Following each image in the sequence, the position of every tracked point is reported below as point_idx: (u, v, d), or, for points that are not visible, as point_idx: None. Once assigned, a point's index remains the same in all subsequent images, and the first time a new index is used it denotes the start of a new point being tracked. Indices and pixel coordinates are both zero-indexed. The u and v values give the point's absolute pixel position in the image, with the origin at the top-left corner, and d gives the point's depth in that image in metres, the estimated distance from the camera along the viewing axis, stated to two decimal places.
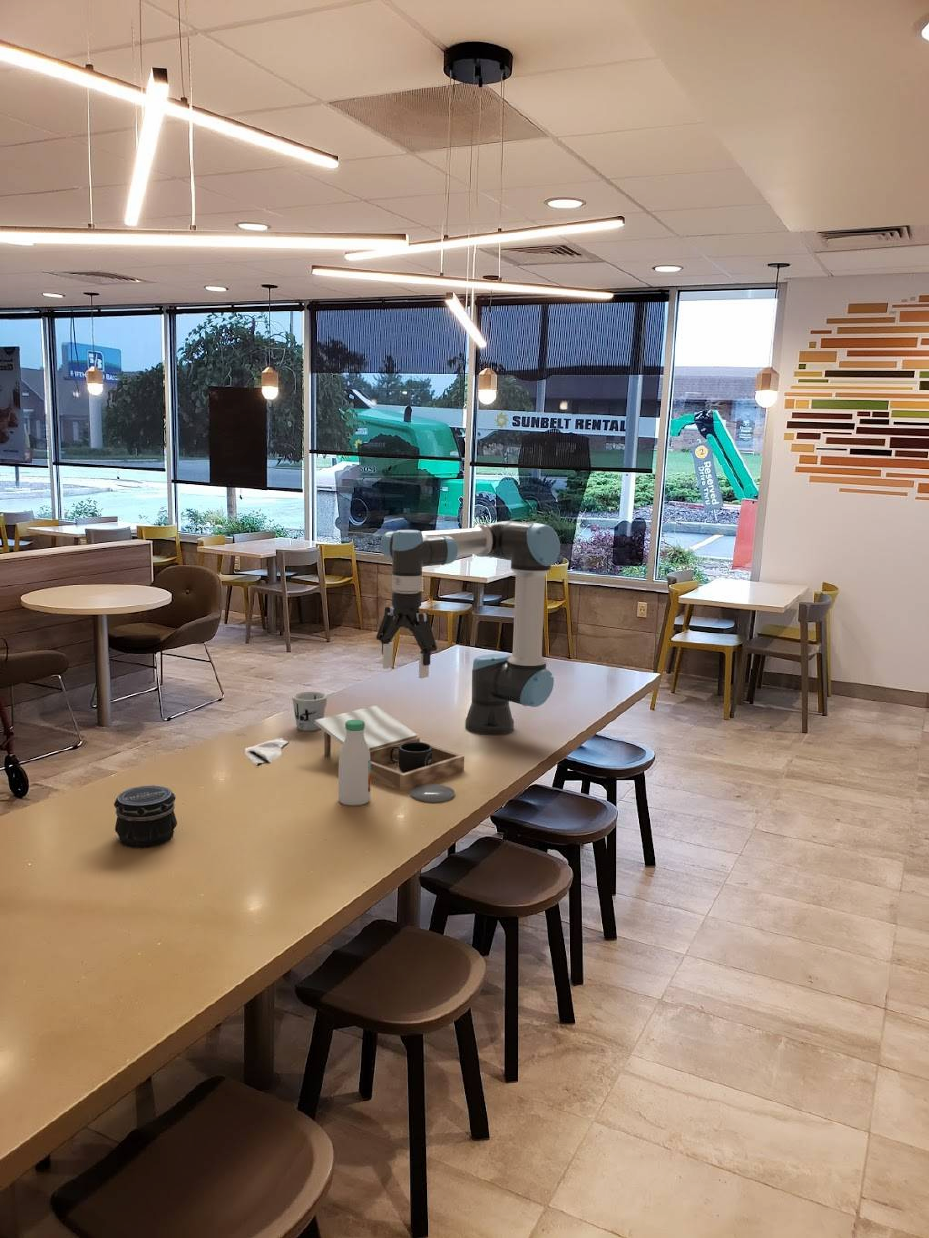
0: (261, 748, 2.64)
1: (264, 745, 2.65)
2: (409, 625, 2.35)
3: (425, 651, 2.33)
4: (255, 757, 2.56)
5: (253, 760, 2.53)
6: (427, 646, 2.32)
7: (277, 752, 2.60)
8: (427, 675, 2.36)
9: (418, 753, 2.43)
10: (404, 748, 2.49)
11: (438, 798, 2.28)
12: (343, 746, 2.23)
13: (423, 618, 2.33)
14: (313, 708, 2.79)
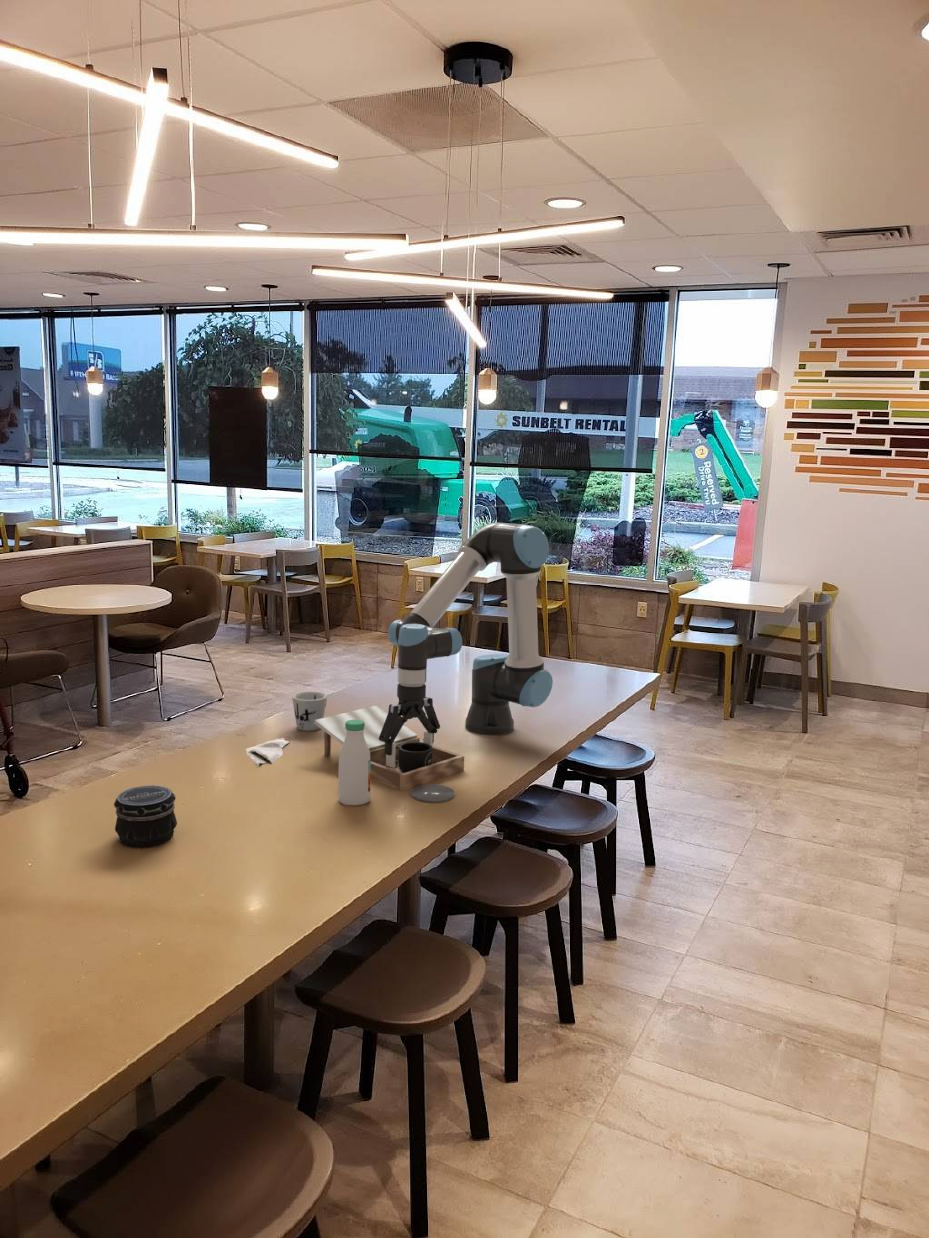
0: (262, 748, 2.63)
1: (265, 745, 2.65)
2: None
3: None
4: (256, 757, 2.56)
5: (255, 760, 2.53)
6: None
7: (278, 752, 2.60)
8: (391, 765, 2.42)
9: (418, 753, 2.43)
10: (404, 748, 2.49)
11: (438, 798, 2.28)
12: (343, 746, 2.23)
13: (390, 709, 2.41)
14: (313, 708, 2.79)
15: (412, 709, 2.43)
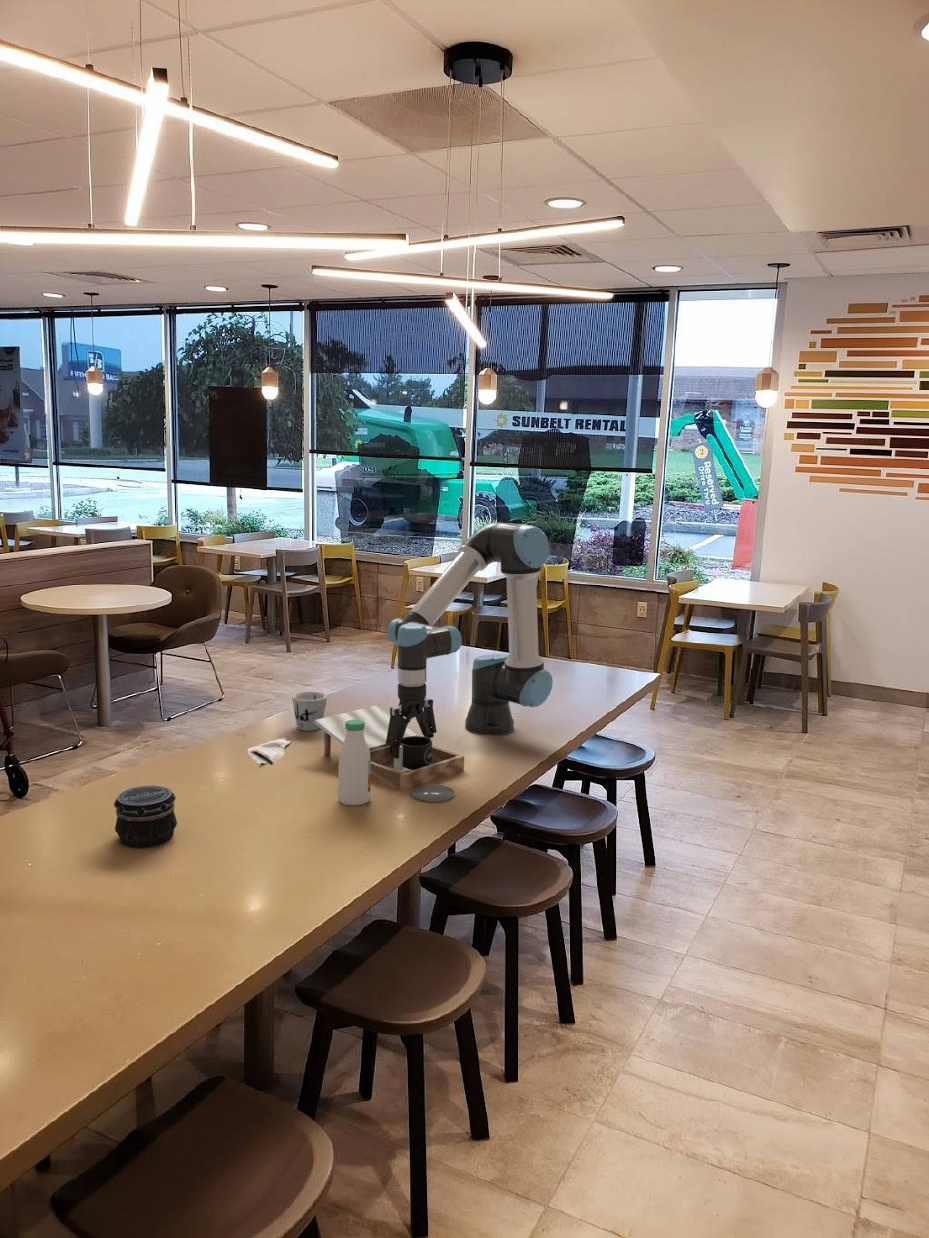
0: (264, 748, 2.63)
1: (267, 745, 2.65)
2: None
3: None
4: (258, 757, 2.56)
5: (256, 760, 2.53)
6: None
7: (280, 752, 2.60)
8: (399, 768, 2.44)
9: (417, 747, 2.42)
10: (404, 742, 2.49)
11: (438, 798, 2.28)
12: (343, 746, 2.23)
13: (391, 712, 2.41)
14: (313, 708, 2.79)
15: (413, 709, 2.44)
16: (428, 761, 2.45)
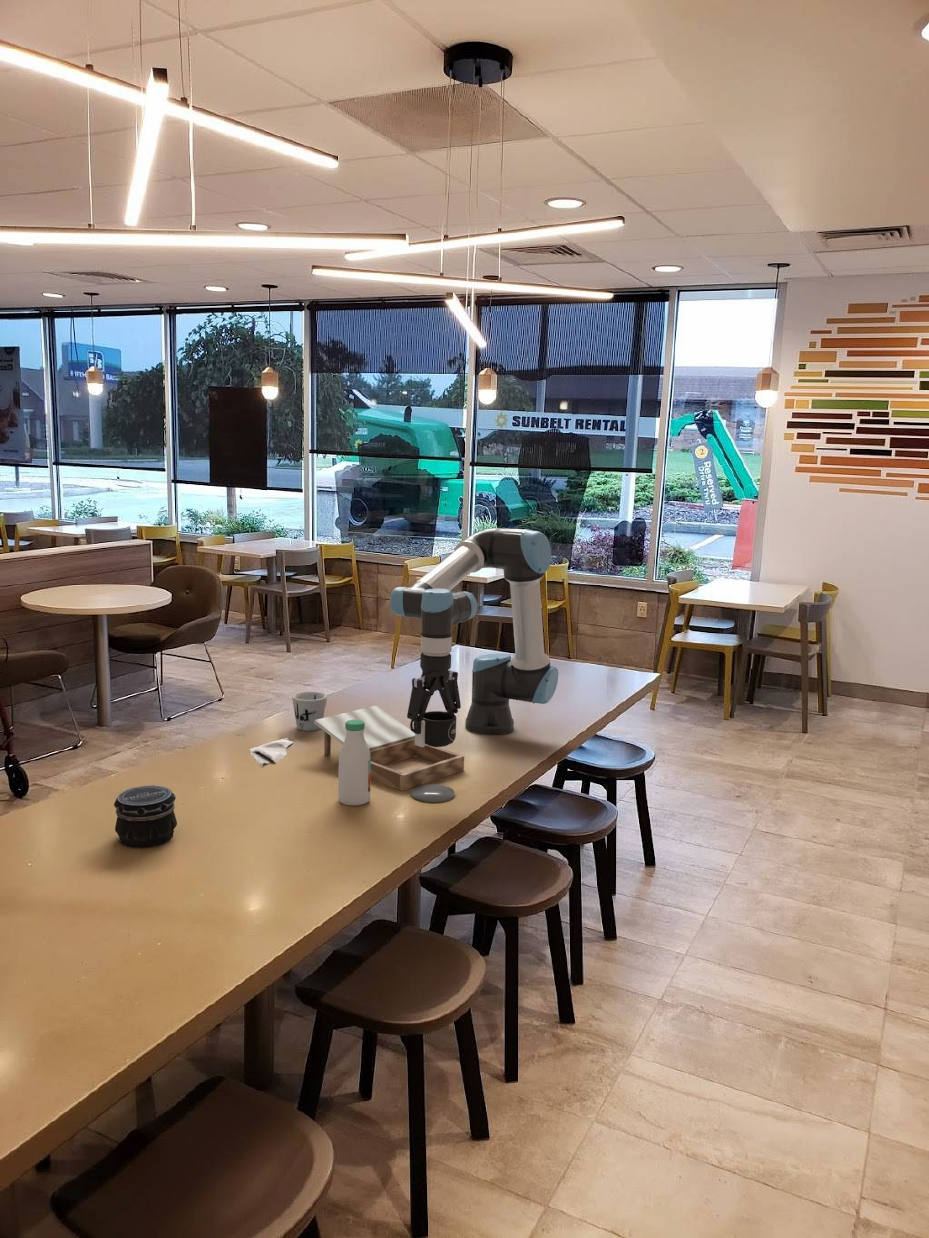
0: (266, 748, 2.63)
1: (269, 745, 2.65)
2: None
3: None
4: (260, 757, 2.56)
5: (258, 760, 2.53)
6: None
7: (282, 752, 2.60)
8: (421, 745, 2.26)
9: (441, 722, 2.24)
10: (425, 717, 2.31)
11: (438, 798, 2.28)
12: (343, 746, 2.23)
13: (413, 684, 2.23)
14: (313, 708, 2.79)
15: (437, 681, 2.25)
16: (452, 737, 2.27)
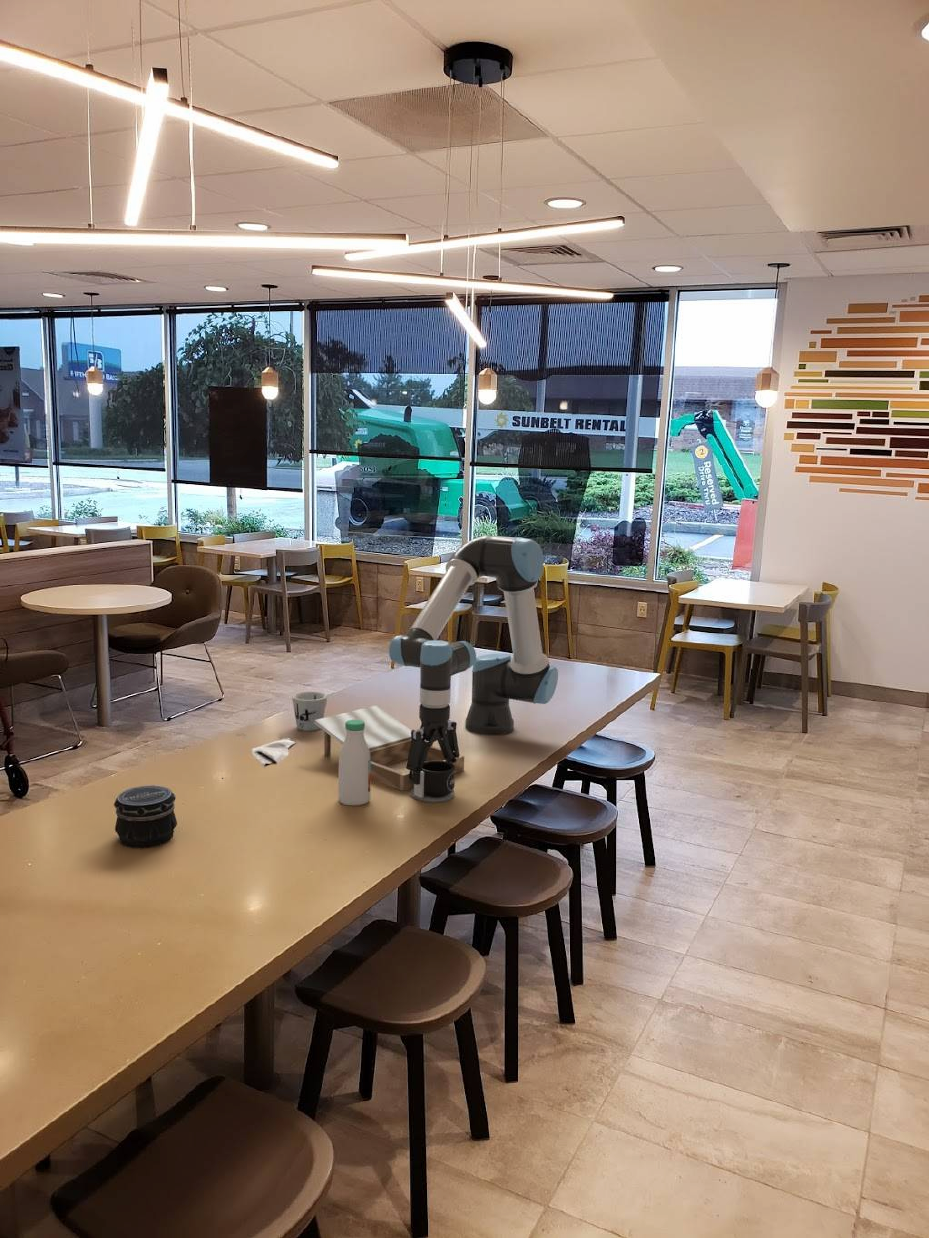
0: (268, 748, 2.63)
1: (271, 745, 2.65)
2: None
3: None
4: (262, 757, 2.56)
5: (260, 760, 2.53)
6: None
7: (284, 752, 2.60)
8: (420, 795, 2.28)
9: (440, 773, 2.26)
10: (424, 767, 2.33)
11: (438, 798, 2.28)
12: (343, 746, 2.23)
13: (412, 735, 2.25)
14: (313, 708, 2.79)
15: (436, 732, 2.27)
16: (451, 788, 2.29)
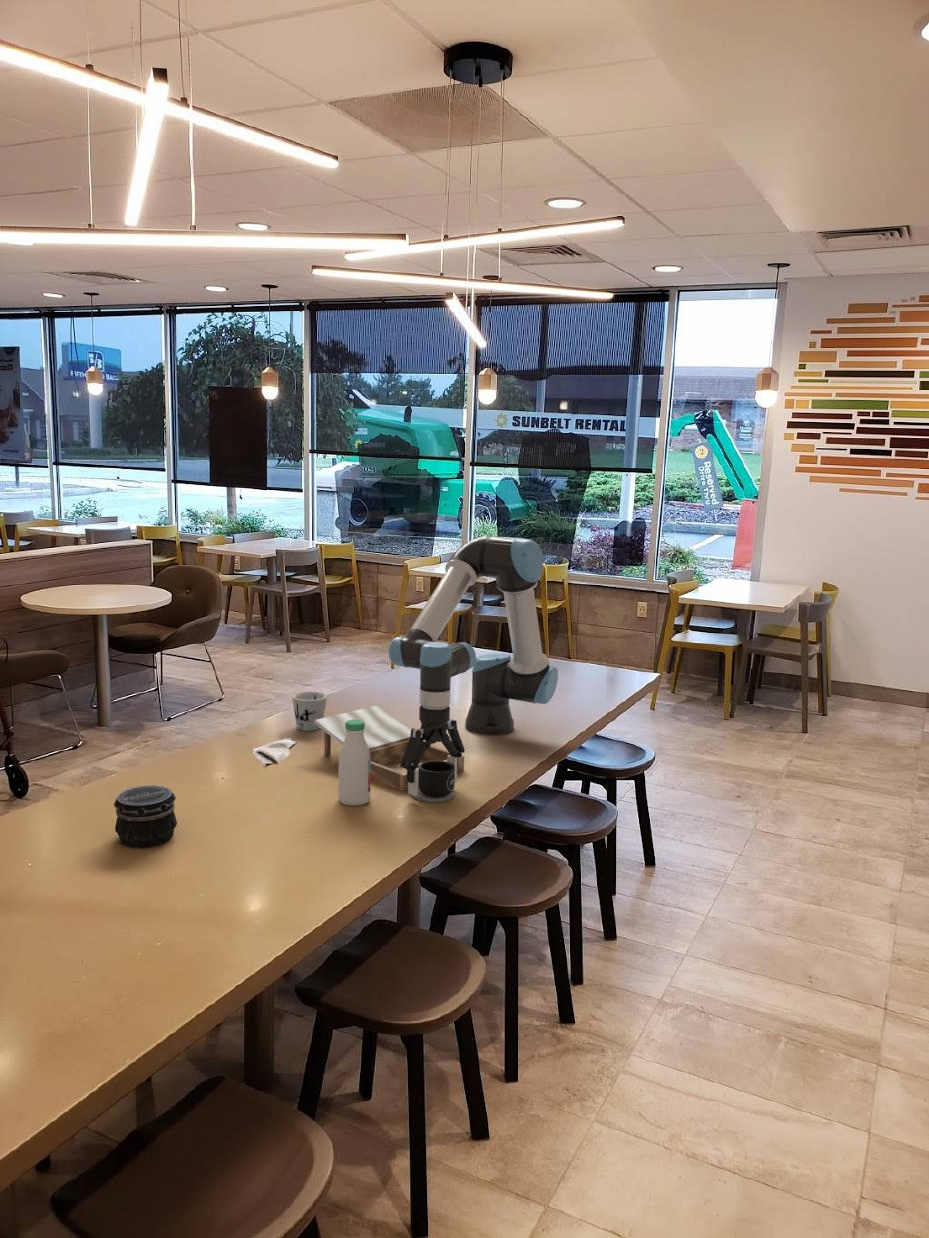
0: (269, 748, 2.63)
1: (272, 745, 2.65)
2: None
3: None
4: (263, 757, 2.56)
5: (261, 761, 2.53)
6: None
7: (285, 752, 2.60)
8: (414, 794, 2.27)
9: (440, 773, 2.26)
10: (424, 767, 2.33)
11: (438, 798, 2.28)
12: (343, 746, 2.23)
13: (412, 733, 2.25)
14: (313, 708, 2.79)
15: (435, 733, 2.28)
16: (451, 788, 2.29)
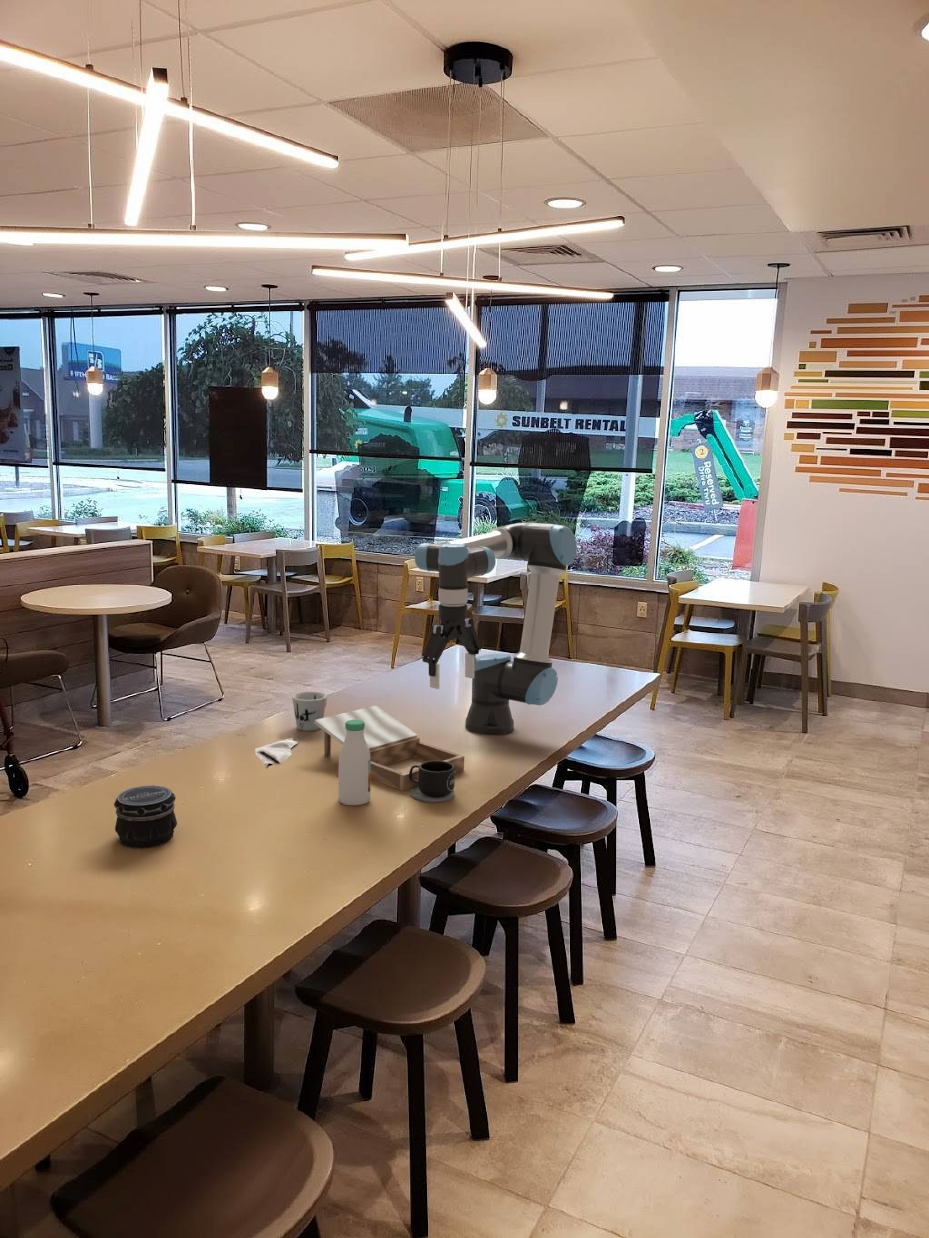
0: (271, 748, 2.63)
1: (274, 745, 2.65)
2: None
3: None
4: (265, 758, 2.56)
5: (263, 761, 2.53)
6: None
7: (287, 753, 2.60)
8: (436, 687, 2.40)
9: (440, 773, 2.26)
10: (424, 767, 2.33)
11: (438, 798, 2.28)
12: (343, 746, 2.23)
13: (432, 630, 2.38)
14: (313, 708, 2.79)
15: (454, 629, 2.41)
16: (451, 788, 2.29)
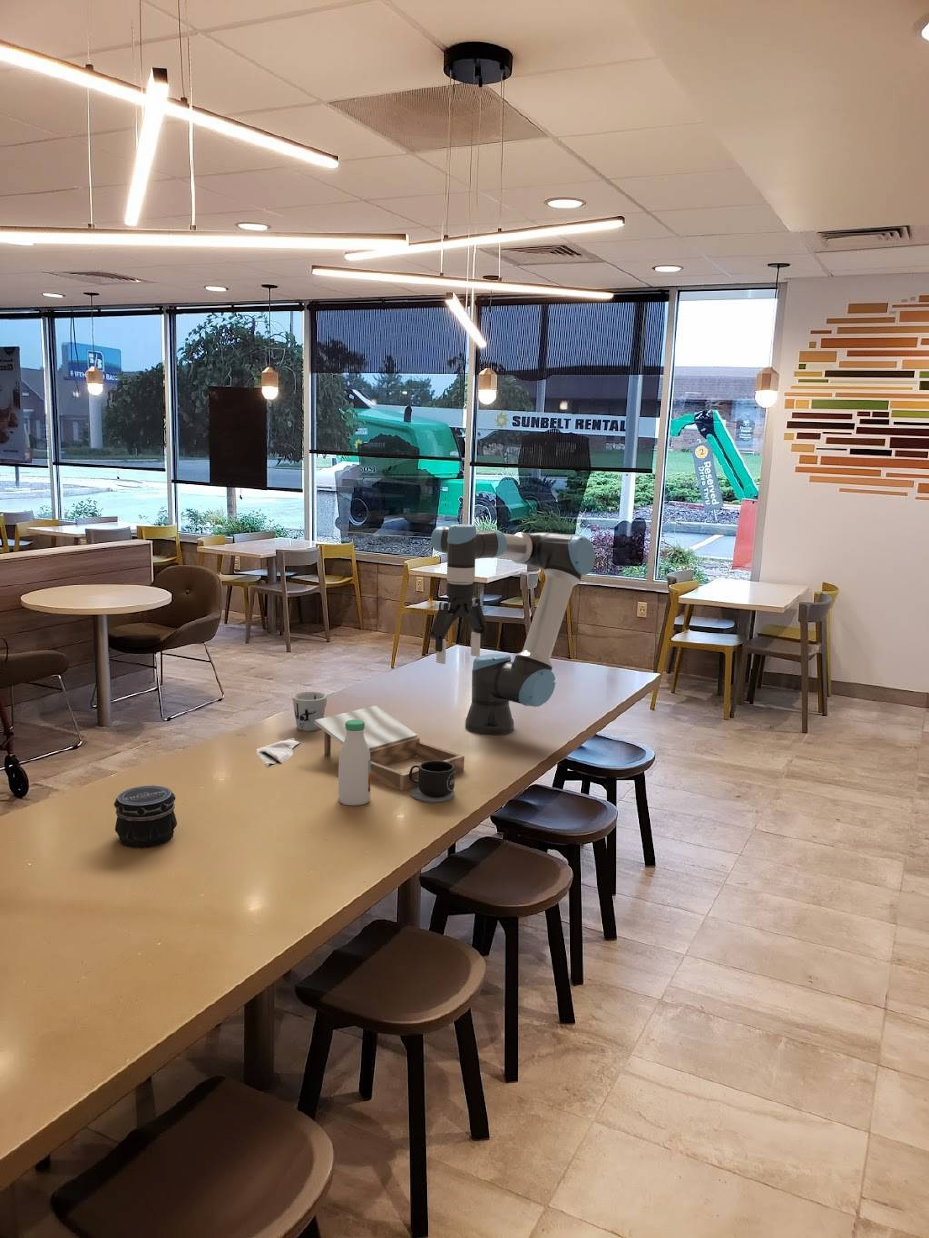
0: (273, 748, 2.63)
1: (276, 745, 2.65)
2: None
3: None
4: (267, 758, 2.56)
5: (264, 761, 2.53)
6: None
7: (288, 753, 2.60)
8: (442, 662, 2.48)
9: (440, 773, 2.26)
10: (424, 767, 2.33)
11: (438, 798, 2.28)
12: (343, 746, 2.23)
13: (440, 606, 2.46)
14: (313, 708, 2.79)
15: (461, 607, 2.49)
16: (451, 788, 2.29)
